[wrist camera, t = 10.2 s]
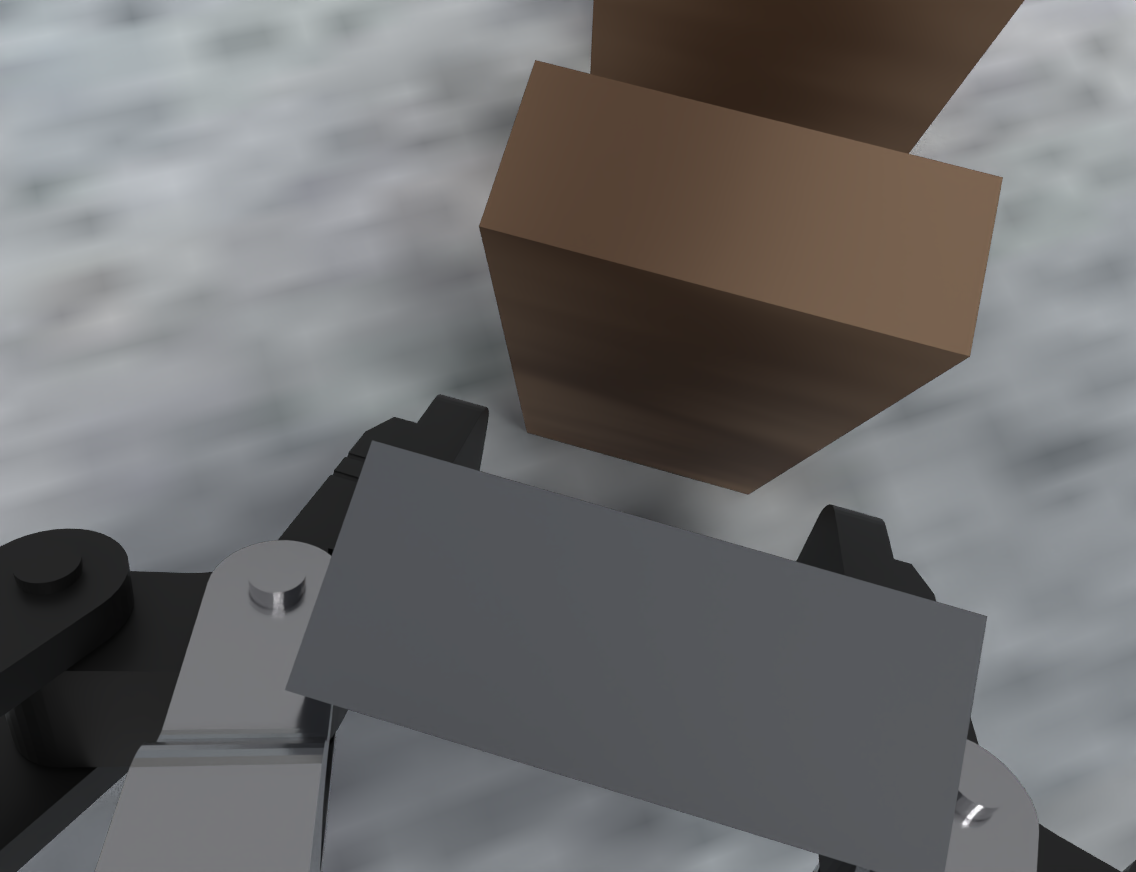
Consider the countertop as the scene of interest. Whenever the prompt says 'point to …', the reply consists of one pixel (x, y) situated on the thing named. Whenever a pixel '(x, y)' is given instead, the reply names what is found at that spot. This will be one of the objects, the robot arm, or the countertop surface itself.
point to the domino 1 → (803, 57)
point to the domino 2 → (721, 277)
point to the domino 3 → (647, 661)
